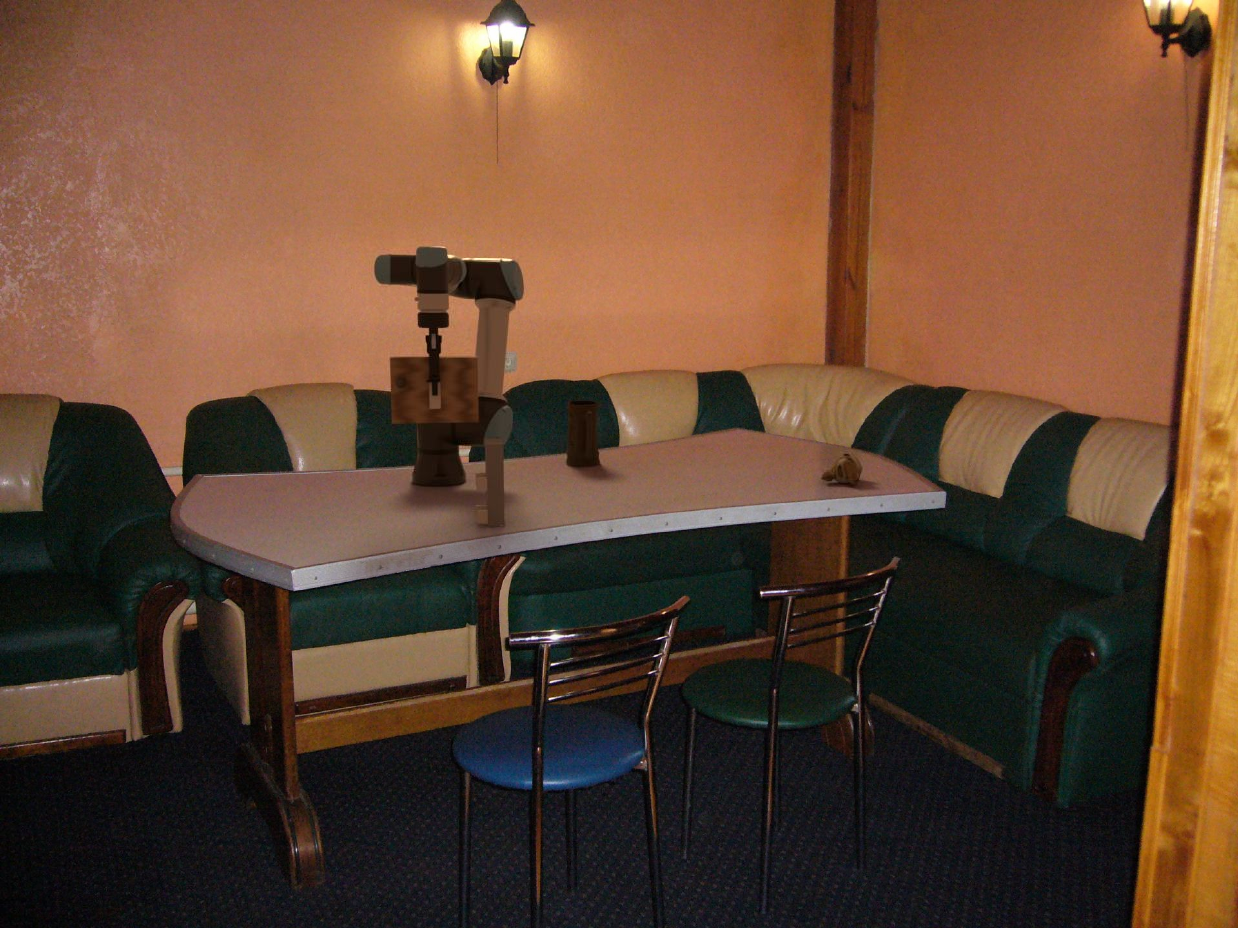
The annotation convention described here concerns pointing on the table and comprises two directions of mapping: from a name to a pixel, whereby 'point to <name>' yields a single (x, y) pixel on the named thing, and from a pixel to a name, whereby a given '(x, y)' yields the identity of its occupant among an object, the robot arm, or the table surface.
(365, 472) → the table surface
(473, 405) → the door
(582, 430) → the beer stein
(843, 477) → the ceramic sculpture
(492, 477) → the cabinet side
